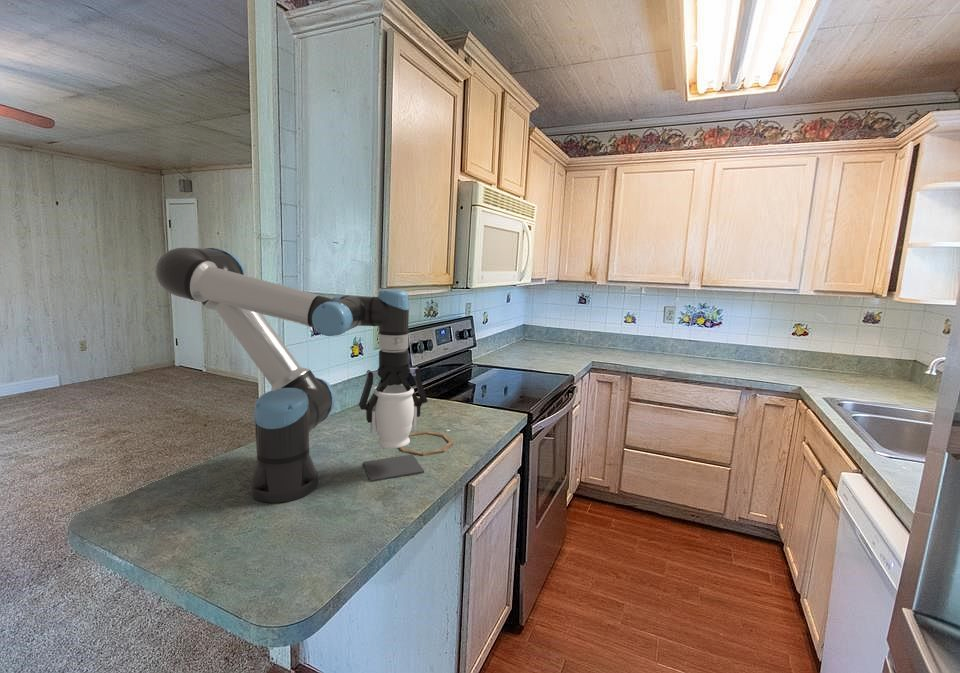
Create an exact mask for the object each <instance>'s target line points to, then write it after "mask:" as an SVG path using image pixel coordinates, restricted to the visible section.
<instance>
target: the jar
mask: <svg viewBox="0 0 960 673" xmlns="http://www.w3.org/2000/svg"><path fill="white" fill-rule="evenodd" d="M410 387H411V389H410V390H409V391H407V390H406V389H405V387H404V386H403V384H401V385H392V386H389V385H387V387H386V388H385V389H384V391H383V392H379V391H377V390H376V388H377V386H375V387H374V388H373V393H374V394H375V395H376V396H377V397H378V400H377V402H376V404H375V406H374V408H373V409H374V410H375V431H376V433H377V435H378V437H379V438H378V439H377V444H378V446H380V447H383V448H387V449H400V447H404V448H405V446H407V445H409V444H410V443H411V439H410V436H409V434H410V433H412V432H411V431H412V429H413V428H412V422H413V417H414V404H415V403H414V401H413V397H412V394H413V393H415V388H414V387H413V386H411V385H410ZM408 436H409V437H408Z"/></svg>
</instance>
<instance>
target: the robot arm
mask: <svg viewBox="0 0 960 673" xmlns="http://www.w3.org/2000/svg"><path fill="white" fill-rule="evenodd" d="M245 273H246V271H245V268H244V265H243V263H242V261H241V260H240V259H239V257H237V255H235V254H233V253H232V252H230V251H227V250H224V249H220V248H216V247H207V248H200V247H175V248H173V249H171V250H167V251H166V252H164V253H163V254H162V255H161V256H160V257H159V259H158V261H157V262H156V266H155V276H156V279H157V282H158V284H159V285H160V286H161V287H162V288H163V289H164V290H165V291H167V292H168V293H169V294H171V295H173V296H176V297H178V298H184V299H187V300H191V301H194V302H198V303H201V304H202V305H203V306H204V307H205V308H206V309H207V310H208V309H209V310H213V311H216V313H217V314H218V316H219V317H220V319H222V321H223V322H224V324H225V326H227V328H228V329H229V331H230V332H231V333H232V334H233V336H234V337H235V339H236V340H237V341H238V343H239V344H240V346H242V348H243V349H244V351H245V353H247V355H248V357H249V358H250V359H251V360H252V361H253V363H254V364H255V365H256V367H257V368H258V369H259V370H260V373H262V374H263V376H264V377H265V380H267V381H268V383H269V384H270V386H271V389H270V391H266V392H265V393H264V394H262V395H260V396H259V397H258V398H257V399H256V401H255V403H254V412H253V420H254V427H255V429H254V431H255V444H256V445H255V447H256V463H255V466H254V469H253V473H252V476H251V479H250V483H249V490H250V496H251V497H252V498H253V499H254V500H256V501H257V502H261V503H262V502H263V503H270V504H276V503H277V504H279V503H280V504H281V503H286V502H291V501H294V500H298V499H301V498H304V497H305V496H307V495H309V494H310V493H312V492H313V491H314V490H315V489H316V488H317V486H318V483H319V480H318V479H319V478H318V477H319V476H318V471H317V469H316V466H315V464H314V461H313V460H312V457H311V453H310V432H312V431H313V430H314V429H316V426H318V425H319V424H320V423H322V422H323V421H325V420H326V419H327V418H328V417H329V415H330V413H331V412H332V411H333V409H334V406H335V402H336V395H335V391H334V389H333V387H332V386H331V384H330V383H329V382H328V381H327V380H325V379H322V378H319V377H316V376H315V374H314V373H313V372H312V370H311V369H310V368H305V367H302V366H300V364H299V363H298V361H297V360H296V358H295V357H294V355H293V354H292V353H291V352H290V351H289V349H288V347H287V346H286V345H285V343H284V342H283V340H282V339H281V338H280V337H279V335H278V334H277V332H276V331H275V330H274V328H273V327H272V325H271V324H270V323H269V322H268V320H267V319H266V317H265V316H264V315H266V316H269V317H272V318H276V319H279V320H283V321H288V322H291V323H295V324H298V325H303V326H306V327H310V328H313V329H315V331H317V332H318V333H319V334H321V335H323V336H325V337H334V336H340V335H342V334H345V333H346V332H348V331H349V330H352V329H354V328H357V327H361V326H362V327H365V326H366V327H378V348H379V349H380V350H379V351H378V367H377V370H369V369H368V370H366V373H365V374H366V380H365V382H364V387H363V390H362V393H361V396H360V399H359V403H358V406H359V408H360V410H362V411H363V410H364V411H365V413H366V415H365V416H366V418H365V419H366V421H367V423H369V425H370V426H369V427H370V428H369V429H370V434H371V435H372V436H376V425H375V410H374V406H375V404H376V402H377V400H378V397H377V396H376V395H375V394H374V392H373V393H372V395H371V394H370V393H371V390H372V386H373V383H374V380H375V379H376V377H377V376H378V377H379V378H380V380H379V381H378V383H377V386H376V387H377V388H376V390H377V391H379V392H383V391H384V389H385V388H386V387H387V385H389V386H392V385H401V384H403V386H404V387H405V389H406V390H407V391H409V390H410V389H411V387H412V386H411V385H410V383H409V382H408V380H407V377H408V376H409V375H410V374H411V376H412V377H413V379H414V382H415V386H416V389H417V393H418V395H419V398H418V396H417V395H416V393H415V392H414V393H413V394H412V397H413V402H414V417H413V422H412V428H411V429H412V430H413V431H417V430H418V426H417V424H418V418H419V417H420V416H421V407H422V405H423V404H427V403H428V399H427V398H428V397H427V395H426V392H425V389H424V385H423V382H422V379H421V369H420V368H419V367H418V366H414V367H410V366H409V350H408V348H409V318H410V316H409V315H410V314H409V313H410V307H409V294H408V292H407V291H406V290H404V289H399V288H398V289H395V288H394V289H388V288H385V289H380V290H378V295H377V296H359V295H358V296H357V295H355V296H354V295H346V294H345V295H336V296H335V295H334V296H333V297H332V298H330V297H326V296H322V295H319V294H316V293H312V292H309V291H305V290H300V289H297V288H293V287H290V286H286V285H281V284H279V283H275V282H271V281H268V280H267V281H266V280H264V279H259V278H257V277H252V276H248V275H245ZM410 386H411V387H410ZM370 395H371V396H370Z"/></svg>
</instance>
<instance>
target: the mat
mask: <svg viewBox="0 0 960 673" xmlns="http://www.w3.org/2000/svg"><path fill="white" fill-rule="evenodd" d="M362 464H363V466H364V468H365V471H366V473H367V475H368V478H369V480H370V482H377V481H382V480H383V481H384V480H389V479H395V478H400V477H402V478H403V477H407V476H413V475H418V474H419V475H420V474H425V469H424V468H423V467H422V466H421V464H420V463H419V462H418V460H417V459H416V457H415V456H414V454H412V453H411V454H406V455H405V454H404V455H400V456H393V457H387V458H380V459H373V460H365V461H363V463H362Z"/></svg>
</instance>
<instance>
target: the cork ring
mask: <svg viewBox="0 0 960 673" xmlns="http://www.w3.org/2000/svg"><path fill="white" fill-rule="evenodd" d="M421 435H431V436H438V437H442V438H443V439H444V440H445V441H446V442H447V444H446V445H445V446H443V447H442V448H441V449H435V450H427V451H418V450H413V449H410V448H409V449H408V448H405V446H404V447H400V448H399V450H400V451H401V452H403V453H408V454H411V455H412V454H413V455H418V456H430V455H434V454H441V453H445V452H447V450H449V449H450V448H451V447H452V446H453V445H454V441H453V439H451V438H450V437H449V435H447V434H446V433H440V432H435V431H429V430H424V431H416V432H415V431H414V432H410V434H409V436H408V437H409V438H410V437H412V436H413V437H414V436H421Z"/></svg>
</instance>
